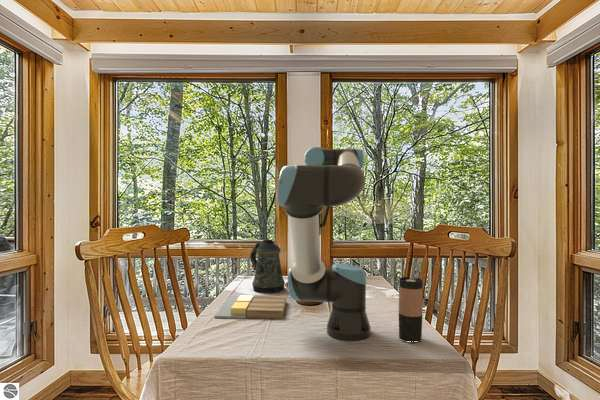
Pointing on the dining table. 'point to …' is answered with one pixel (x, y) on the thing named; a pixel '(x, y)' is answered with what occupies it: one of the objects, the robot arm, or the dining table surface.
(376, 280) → the dining table surface
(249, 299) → the ivory tile
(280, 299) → the walnut deck
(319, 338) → the dining table surface
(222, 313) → the slate mat
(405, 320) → the travel mug
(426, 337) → the dining table surface
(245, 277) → the dining table surface
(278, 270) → the beer stein
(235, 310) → the mustard tile
